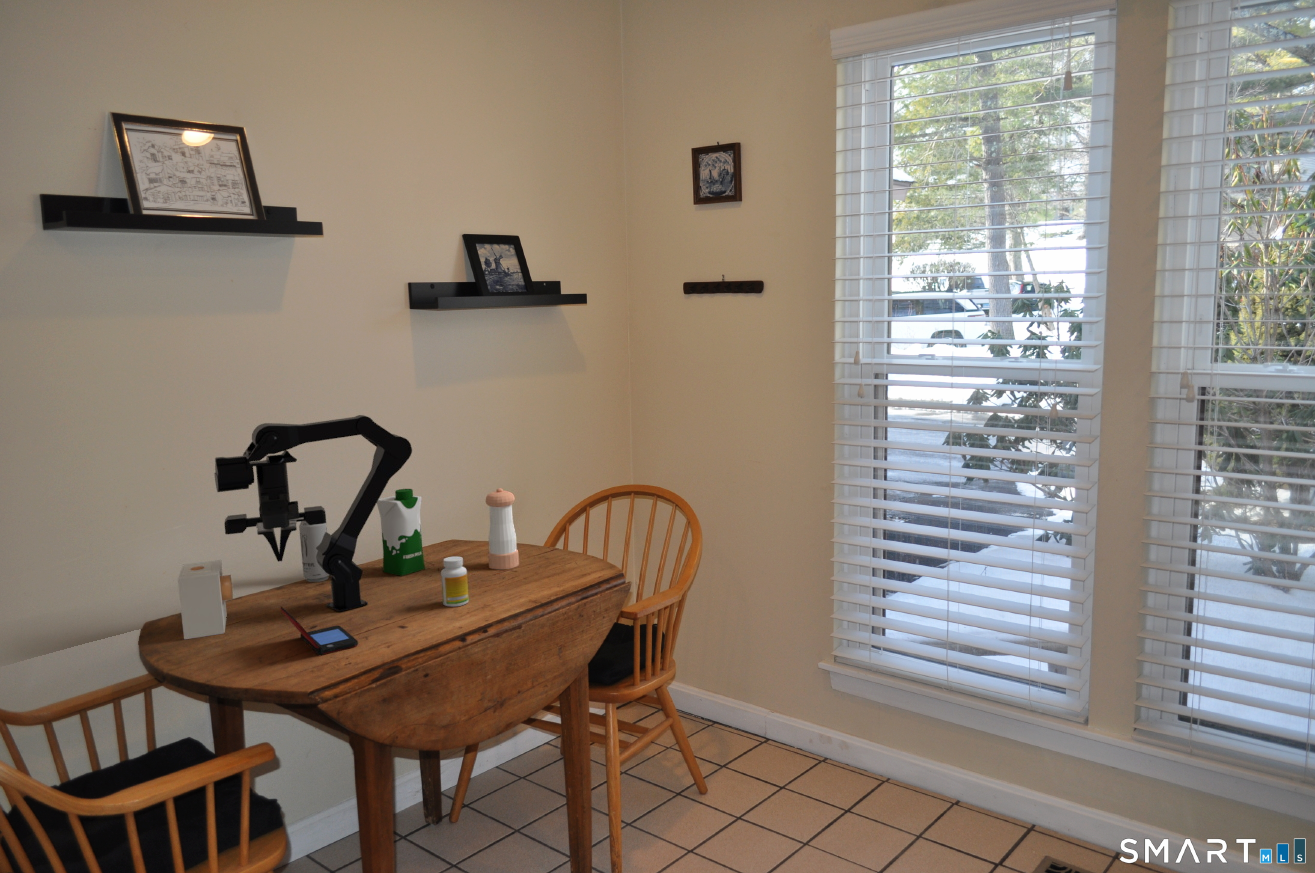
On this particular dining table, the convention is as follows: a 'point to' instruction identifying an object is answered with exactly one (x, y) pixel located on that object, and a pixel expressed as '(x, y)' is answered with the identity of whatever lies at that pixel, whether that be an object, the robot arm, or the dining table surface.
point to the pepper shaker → (502, 531)
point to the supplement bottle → (454, 582)
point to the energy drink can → (312, 551)
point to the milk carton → (401, 533)
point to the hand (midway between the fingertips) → (279, 560)
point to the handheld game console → (324, 637)
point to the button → (226, 587)
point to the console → (202, 599)
